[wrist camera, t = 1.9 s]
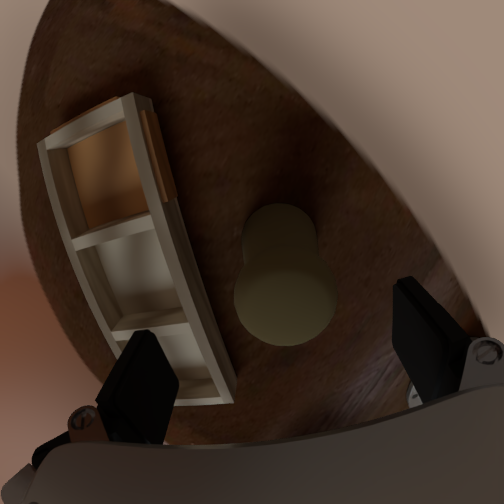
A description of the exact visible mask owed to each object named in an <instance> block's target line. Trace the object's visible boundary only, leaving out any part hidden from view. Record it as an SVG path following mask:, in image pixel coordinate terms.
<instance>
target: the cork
mask: <svg viewBox="0 0 504 504" xmlns="http://www.w3.org/2000/svg"><path fill="white" fill-rule="evenodd" d="M242 250H243V257H244V264H245V266H244V267H243V268H242V269H241V271H240V273H239V276H238V279H237V281H236V284H235V288H234V305H235V308H236V311H237V314H238V317H239V319H240V322H241V323H242V324H243V325H244V327H245V328H246V329H247V330H248V331H249V332H250V333H251V334H253V335H254V336H256V337H257V338H259V339H260V340H262V341H263V342H266V343H270V344H273V345H276V346H292V345H297V344H301V343H304V342H306V341H308V340H310V339H312V338H314V337H316V336H317V335H318V334H319V333H320V332H321V331H322V330H323V329H324V328H325V327H326V326H327V325H328V324H329V322H330V320H331V318H332V317H333V315H334V313H335V309H336V304H337V298H338V291H337V286H336V280H335V277H334V276H333V274H332V272H331V270H330V269H329V267H328V265H327V264H326V262H325V261H324V260H323V259H322V258H320V257H319V252H318V241H317V234H316V230H315V226H314V224H313V222H312V221H311V219H310V217H309V216H308V215H307V214H306V213H305V212H303V211H302V210H301V209H300V208H298V207H295V206H293V205H290V204H285V203H274V204H270V205H266V206H263V207H261V208H260V209H258V210H257V211H255V212H254V213H253V214H252V215H251V216H250V218H249V219H248V220H247V221H246V223H245V226H244V228H243V231H242Z"/></svg>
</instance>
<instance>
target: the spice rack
mask: <svg viewBox="0 0 504 504" xmlns="http://www.w3.org/2000/svg"><path fill="white" fill-rule="evenodd" d="M37 147H38V152H39V157H40V161H41V166H42V170H43V175H44V179H45V183H46V187H47V190H48V194H49V198H50V201H51V205H52V208H53V212H54V215H55V218H56V221H57V224H58V228H59V231H60V234H61V236H62V239H63V242H64V245H65V248H66V251H67V253H68V256H69V259H70V261H71V264H72V266H73V269H74V271H75V274H76V276H77V279H78V281H79V283H80V286H81V288H82V290H83V293H84V295H85V297H86V299H87V301H88V304H89V306H90V308H91V310H92V312H93V314H94V316H95V318H96V320H97V322H98V324H99V326H100V328H101V330H102V332H103V334H104V336H105V338H106V340H107V342H108V344H109V346H110V347H111V349H112V351H113V353H114V355H115V356H116V358H117V360H118V358H119V356H120V355H121V353H122V351H123V349H124V348H125V346H126V344H127V343H128V341H129V339H130V338H131V336H132V334H133V333H134V331H137V330H145V329H148V330H150V331H151V332H153V333H154V334H155V335H156V337H157V339H158V341H159V343H160V345H161V347H162V349H163V351H164V353H165V355H166V357H167V359H168V361H169V363H170V365H171V367H172V369H173V370H174V372H175V374H176V376H177V378H178V380H179V390H178V393H177V397H176V400H175V403H174V406H189V405H210V404H224V403H234V399H235V392H236V384H237V377H236V374H235V371H234V369H233V366H232V364H231V361H230V358H229V356H228V353H227V350H226V348H225V345H224V342H223V339H222V337H221V334H220V331H219V328H218V325H217V323H216V320H215V317H214V314H213V311H212V308H211V305H210V303H209V300H208V297H207V294H206V291H205V288H204V285H203V282H202V279H201V276H200V273H199V270H198V267H197V263H196V260H195V257H194V254H193V251H192V248H191V244H190V241H189V238H188V235H187V231H186V228H185V225H184V221H183V218H182V215H181V211H180V208H179V204H178V201H177V196H178V194H177V190H176V187H175V183H174V179H173V176H172V172H171V168H170V165H169V161H168V157H167V153H166V149H165V145H164V141H163V137H162V133H161V129H160V125H159V121H158V117H157V113H154V108H153V104H152V100H151V99H150V98H147V97H145V96H142V95H139V94H136V93H134V92H132V93H130V94H128V95H125V96H123V97H117V96H116V97H114V98H111V99H109V100H107V101H105V102H103V103H101V104H99V105H97V106H95V107H93V108H91V109H89V110H88V111H86V112H84V113H82V114H80V115H78V116H77V117H75V118H73V119H71V120H69V121H68V122H66V123H64V124H63V125H61V126H59V127H58V128H56V129H54V130H53V131H51V135H50V136H48V137H47V138H45V139H43V140H42V141H40V142H39V143H37Z"/></svg>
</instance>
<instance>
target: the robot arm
mask: <svg viewBox="0 0 504 504" xmlns="http://www.w3.org/2000/svg"><path fill="white" fill-rule="evenodd" d="M392 344H393V348H394V350H395V351H396V353H397V355H398V357H399V359H400V361H401V362H402V364H403V366H404V368H405V370H406V372H407V374H408V376H409V378H410V379H411V383H410V385H409V388H408V391H407V402H408V405H409V407H410V409H407V410H403V411H400V412H397V413H394V414H391V415H387V416H384V417H381V418H377V419H374V420H370V421H367V422H363V423H359V424H355V425H351V426H347V427H343V428H339V429H334V430H329V431H324V432H319V433H314V434H309V435H303V436H297V437H291V438H284V439H276V440H268V441H259V442H249V443H236V444H219V445H163V442H164V438H165V435H166V431H167V428H168V424H169V421H170V417H171V414H172V410H173V407H174V403H175V400H176V397H177V393H178V390H179V380H178V378H177V376H176V374H175V372H174V370H173V369H172V367H171V365H170V363H169V361H168V359H167V357H166V355H165V353H164V351H163V349H162V347H161V345H160V343H159V341H158V339H157V337H156V335H155V334H154V333H153V332H151V331H150V330H148V329H145V330H137V331H134V333H133V334H132V336H131V338H130V339H129V341H128V343H127V344H126V346H125V348H124V349H123V351H122V353H121V355H120V356H119V358H118V360H117V362H116V363H115V365H114V367H113V369H112V370H111V372H110V374H109V376H108V378H107V379H106V381H105V383H104V385H103V387H102V389H101V390H100V392H99V394H98V396H97V398H96V400H95V401H96V402H97V403H98V406H97V408H95V407H94V406H90V405H87V406H82V407H80V408H78V409H77V410H75V411H74V412H73V413H72V414H71V416H70V417H69V419H68V431H67V432H65V433H63V434H61V435H59V436H57V437H56V438H54V439H52V440H50V441H48V442H46V443H44V444H43V445H41V446H39V447H38V448H37V449H36V450H35V451H34V454H33V456H32V465H31V464H29V463H28V464H27V465H26V466H25V467H24V468H23V469H21V470H20V471H19V472H18V473H17V474H16V475H15V476H13V477H12V478H11V479H10V480H9V481H8V482H7V483H5V485H4V486H3V487H2V490H1V497H2V500H3V502H4V504H504V345H503V344H502V343H501V342H500V341H499V340H497V339H495V338H491V337H482V338H476V337H469V336H468V335H467V334H466V333H465V331H464V330H463V329H462V328H461V327H460V326H459V324H458V323H457V322H456V321H455V320H454V319H453V318H452V317H451V315H450V314H449V313H448V312H447V311H446V310H445V309H444V308H443V307H442V306H441V305H440V304H439V303H437V301H436V300H435V299H434V298H433V297H432V296H431V295H430V294H429V293H428V292H427V291H426V290H425V289H424V288H423V287H422V286H421V285H420V284H419V283H418V282H417V281H416V280H415V278H414V277H412V276H409V277H405V278H401V279H398V280H397V284H394V285H393V327H392Z"/></svg>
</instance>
